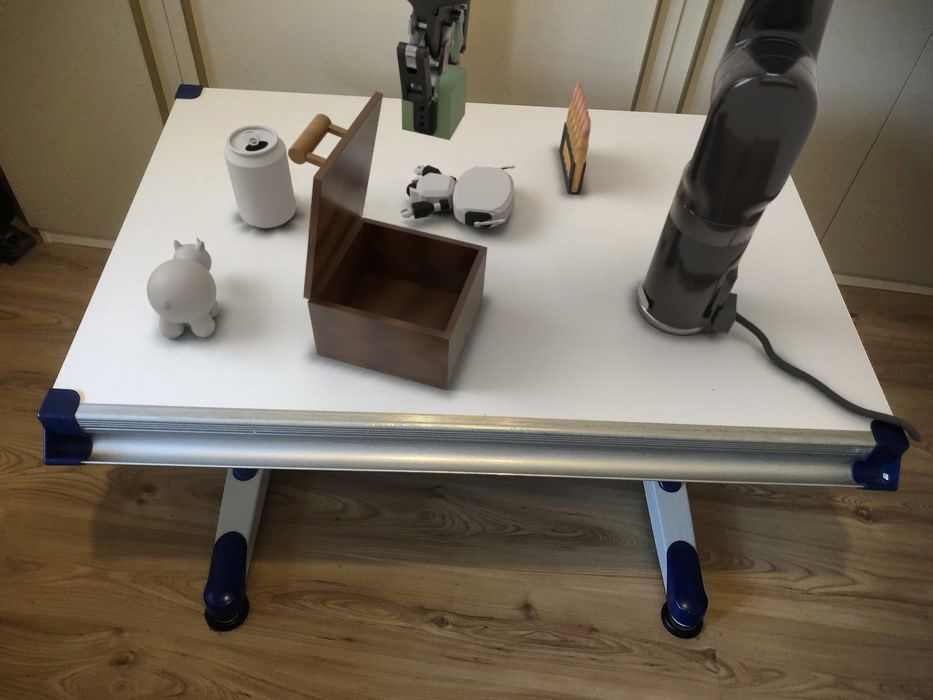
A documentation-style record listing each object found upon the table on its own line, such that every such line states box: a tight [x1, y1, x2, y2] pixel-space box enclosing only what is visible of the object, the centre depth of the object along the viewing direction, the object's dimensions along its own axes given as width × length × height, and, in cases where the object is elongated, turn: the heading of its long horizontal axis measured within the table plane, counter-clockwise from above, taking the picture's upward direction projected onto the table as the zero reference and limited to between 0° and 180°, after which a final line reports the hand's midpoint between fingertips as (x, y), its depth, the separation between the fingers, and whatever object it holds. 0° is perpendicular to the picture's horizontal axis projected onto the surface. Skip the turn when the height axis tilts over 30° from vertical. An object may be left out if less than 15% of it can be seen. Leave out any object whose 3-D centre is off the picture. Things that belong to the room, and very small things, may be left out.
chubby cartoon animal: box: [146, 236, 220, 339], centre depth 79 cm, size 7×12×8 cm, turn 179°
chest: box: [307, 216, 488, 390], centre depth 78 cm, size 16×15×9 cm
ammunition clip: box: [558, 80, 592, 194], centre depth 98 cm, size 11×2×12 cm, turn 2°
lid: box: [287, 90, 384, 301], centre depth 69 cm, size 16×15×5 cm
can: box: [223, 124, 297, 229], centre depth 89 cm, size 8×8×12 cm
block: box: [400, 59, 469, 141], centre depth 67 cm, size 5×5×5 cm
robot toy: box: [399, 164, 517, 229], centre depth 94 cm, size 12×4×15 cm
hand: (434, 116), depth 69 cm, fingers closed on block, 5 cm apart
